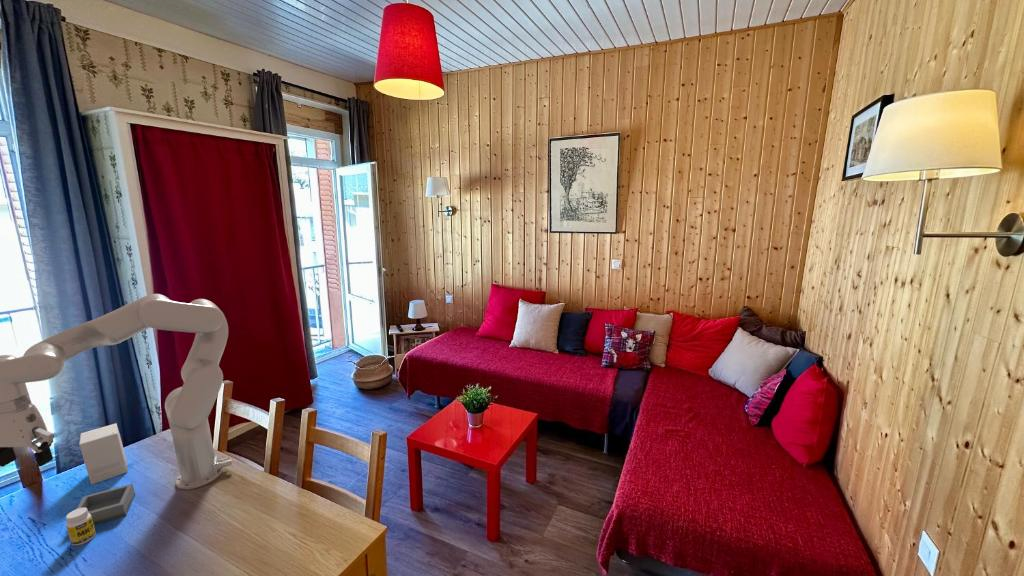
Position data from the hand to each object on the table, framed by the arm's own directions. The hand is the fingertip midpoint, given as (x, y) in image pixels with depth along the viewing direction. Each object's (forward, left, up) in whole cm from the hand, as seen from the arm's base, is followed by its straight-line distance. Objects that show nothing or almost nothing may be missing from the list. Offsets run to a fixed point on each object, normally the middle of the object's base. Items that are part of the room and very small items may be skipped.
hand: (27, 463), depth 108 cm
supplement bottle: (-8, +6, -23) cm, 25 cm away
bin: (-10, -4, -23) cm, 26 cm away
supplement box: (-5, -27, -23) cm, 36 cm away
